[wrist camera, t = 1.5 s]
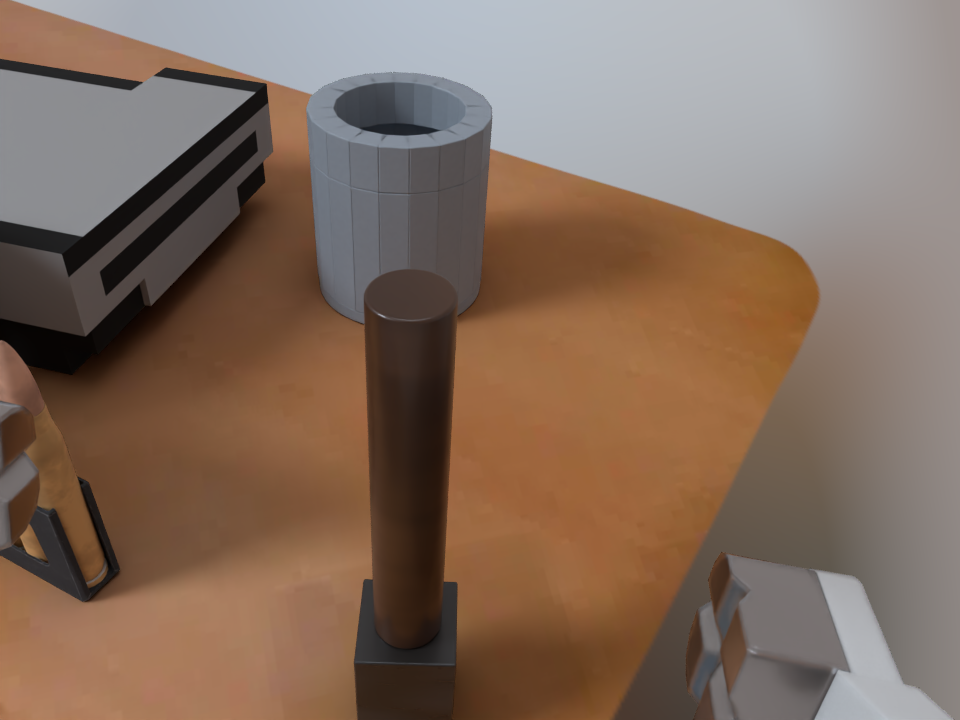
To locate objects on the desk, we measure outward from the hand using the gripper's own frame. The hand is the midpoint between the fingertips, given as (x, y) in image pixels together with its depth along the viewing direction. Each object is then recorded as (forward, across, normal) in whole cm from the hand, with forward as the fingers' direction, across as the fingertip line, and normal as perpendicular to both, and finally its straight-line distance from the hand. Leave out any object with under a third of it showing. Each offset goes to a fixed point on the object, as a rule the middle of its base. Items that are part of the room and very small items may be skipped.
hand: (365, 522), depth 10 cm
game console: (+39, +33, +16) cm, 54 cm away
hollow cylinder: (+40, +6, +14) cm, 43 cm away
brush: (+14, 0, +19) cm, 24 cm away
